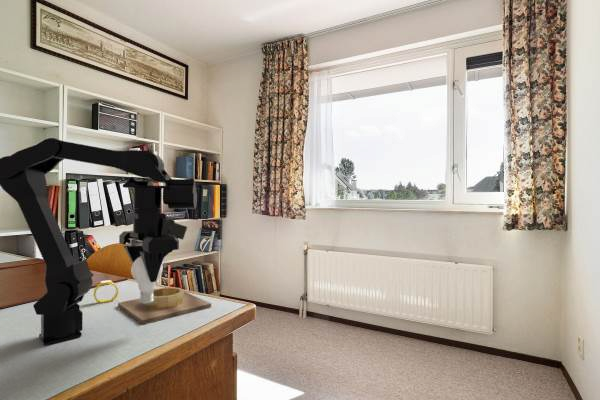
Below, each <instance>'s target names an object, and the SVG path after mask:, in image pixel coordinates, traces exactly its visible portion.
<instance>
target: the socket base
mask: <svg viewBox="0 0 600 400" xmlns="http://www.w3.org/2000/svg"><path fill="white" fill-rule="evenodd" d="M140 299H141V297H140V298H136V299H135V298H134V299H130V300H126V301H121V302H117V307H118V308H120V310H122V311H123V312H125V313H126V314H128V315H129V316H130V317H132V318H133V319H134V320H136V321H137V322H139V323H140V324H141V325H146V324H150V323H153V322H156V321H157V322H158V321H162V320H165V319H169V318H174V317H178V316H181V315H185V314H189V313H194V312H198V311H201V310H205V309H209V308H211V307H212V303H211V302H209V301H207V300H204V299H203V298H200V297H197V296H195V295H194V294H191V293H188V292H186V291H184V301H183V303H182V304H180V305H178V306H175V307H171V308H166V309H151V308H147V307H146V306H145V304H143V303H141V302H140V301H141V300H140Z"/></svg>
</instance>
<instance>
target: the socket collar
mask: <svg viewBox="0 0 600 400" xmlns="http://www.w3.org/2000/svg"><path fill="white" fill-rule="evenodd" d="M184 292H185V290H184V289H182V288H180V287H173V286H171V287H169V286H168V287H160V288H159V287H158V288H155V289H154V292H153V293H154V294H153V295H154V296H153V297H154V298H153V299H154V301H153V302H151V303H150V304H147V305H146V304H145V306H146V307H147V308H151V309H166V308H171V307H175V306H178V305H180V304H182V303H183V301H184Z"/></svg>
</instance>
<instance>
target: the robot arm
mask: <svg viewBox="0 0 600 400" xmlns="http://www.w3.org/2000/svg"><path fill="white" fill-rule="evenodd" d="M63 160H69V161H75V162H81V163H85V164H86V163H87V164H91V165H99V166H104V167H109V168H115V169H118V170H120V171H123V172H125V173H129V174H132V175H135V176H138V177H141V178H144V179H151V180H138V179H137V178H136V177H134V176H130V178H129V180H127V181H126V182H125V183H123V184H122V187H123V188H124V189H125V188H126V189H132V190H133V193H132V194H133V201H132V202H133V205H132V206H133V208H132V209H133V210H132V211H133V212H130V213H129V218H131V219H132V223H133V224H132V230H125V231H123V232H121V233H120V234H119V240H118V241H119V244H121V245H123V249H124V251H125V252H126V253H127V257H128V258H129V259H130V262H131V263H132V264H133V262H134V261H135V260H136V259H137V258H138V257H140V256H141V257H142V260H143V263H144V266H145V269H146V272H147V275H148V277H149V280H150V282H155V281H156V280H157V276H158V273H159V270H160V267H161V264H162V265H163V261H164V258H165V257H166V256H168V255H169V254H170V253H172V252H173V251H175V250H176V251H177V250H180V249H179V248H180V247H179V246H180V245H179V244H180V241H179V240H182V241H183V240H184V238H185V235H186V232H187V229H188V226H186V225H183V224H181V223H177V222H176V221H175V220H174V219H171V218H168V217H167V214H166V213H165V212H164V213H163V211H162V209H163V208H162V207H163V206H162V202H163V204H164V205H167V207H168V209H171V210H172V209H175V210H176V209H177V210H185V209H186V210H187V209H189V210H190V209H191V210H195V209H196V208H197V204H198V193H197V187H196V179H195V178H185V179H175V178H174V179H173V178H172V177H171V175H169V174H168V172H167V171H166V169H165V163H164V161H163V159H162V158H161V156H159V155H158V154H155V153H153V152H151V151H148V150H141V149H139V150H138V149H137V150H136V149H134V150H133V149H127V150H114V149H110V148H109V149H108V148H102V147H97V146H92V145H86V144H81V143H77V142H70V141H65V140H61V139H58V138H55V137H49V138H46V139H44V140H42V141H40V142H38V143H36V144H35V145H31V146H29V147H26V148H23V149H20V150H18V151H16V152H14V153H13V154H11V155H5V156H3V157H0V187H1V188H2V190H3V192H5V193H7V195H8V196H10V197H11V198H12V199H14V201H16V203H17V204H18V206H19V209H20V210H21V214H22V215H23V217H24V220H25V223H26V224H27V226H28V229H29V231H30V233H31V235H32V237H33V239H34V242H35V244H36V246H37V249H38V252H39V253H40V255H41V257H42V260H43V262H44V263H45V273H44V284H45V287H46V288H45V289H46V293H45V294H44V295H43V296H42V297H40V298H39V299H38V300H37V301H36V302H35V303H33V309H34V311H35V314H36V315H37V316H39V315H40V333H39V335H38V336H39V339H40V341H41V343H42V345H43V346H46V345H52V344H55V343H60V342H64V341H67V340H72V339H76V338H79V337H82V335H83V333H82V331H83V314H84V313H83V311H82V310H81V309H80V305H79V303H80V302H82V301H83V299H84V297H85V295H86V294H87V293H89V291H90V290H91V288H92V286H93V282H94V281H93V279H92V277H94V276H95V275H94V273H93V272H92V271H91V270H90V268H89V262H88V261H87V259H83V260H80V261H78V260H77V259H76V258H75V257H74V256H73V254H72V253H71V250H70V248H69V245H68V244H67V241H66V240H65V237H64V235H63V232H62V230H61V228H60V225H59V224H58V221H57V219H56V217H55V213H54V212H53V210H52V207H51V205H50V203H49V201H48V199H47V196H46V191H47V178H46V175H47V174H48V173H50V172H51V171H53V170H54V169H55V168H56V167H58V165H59V164H60V163H61V162H62V161H63ZM152 180H153V181H154V182H155V183H160V184H164V185H154V184H153V182H152ZM126 244H127V245H126ZM132 264H131V265H132ZM157 281H158V280H157Z"/></svg>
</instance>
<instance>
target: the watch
mask: <svg viewBox="0 0 600 400" xmlns="http://www.w3.org/2000/svg"><path fill="white" fill-rule="evenodd" d="M107 285H112V286H114V288H115V291H116V292H115V295H114V296H113V297H112V298H110V299H105V300H104V299H103V300H101V299H98V298H97V296H96V295H97V290H98V289H99V288H100V287H101V286H107ZM118 295H119V287H118V286H117V285H116V283H114V282H113V281H112V280H111V279H107V280H101V281H100V283H99V284H97V285H96V286H95V288H94V289H93V297H94V299H95V301H96V302H97V303H99V304H104V303H109V302H113V301H114V300H115V299H117V297H118Z"/></svg>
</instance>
